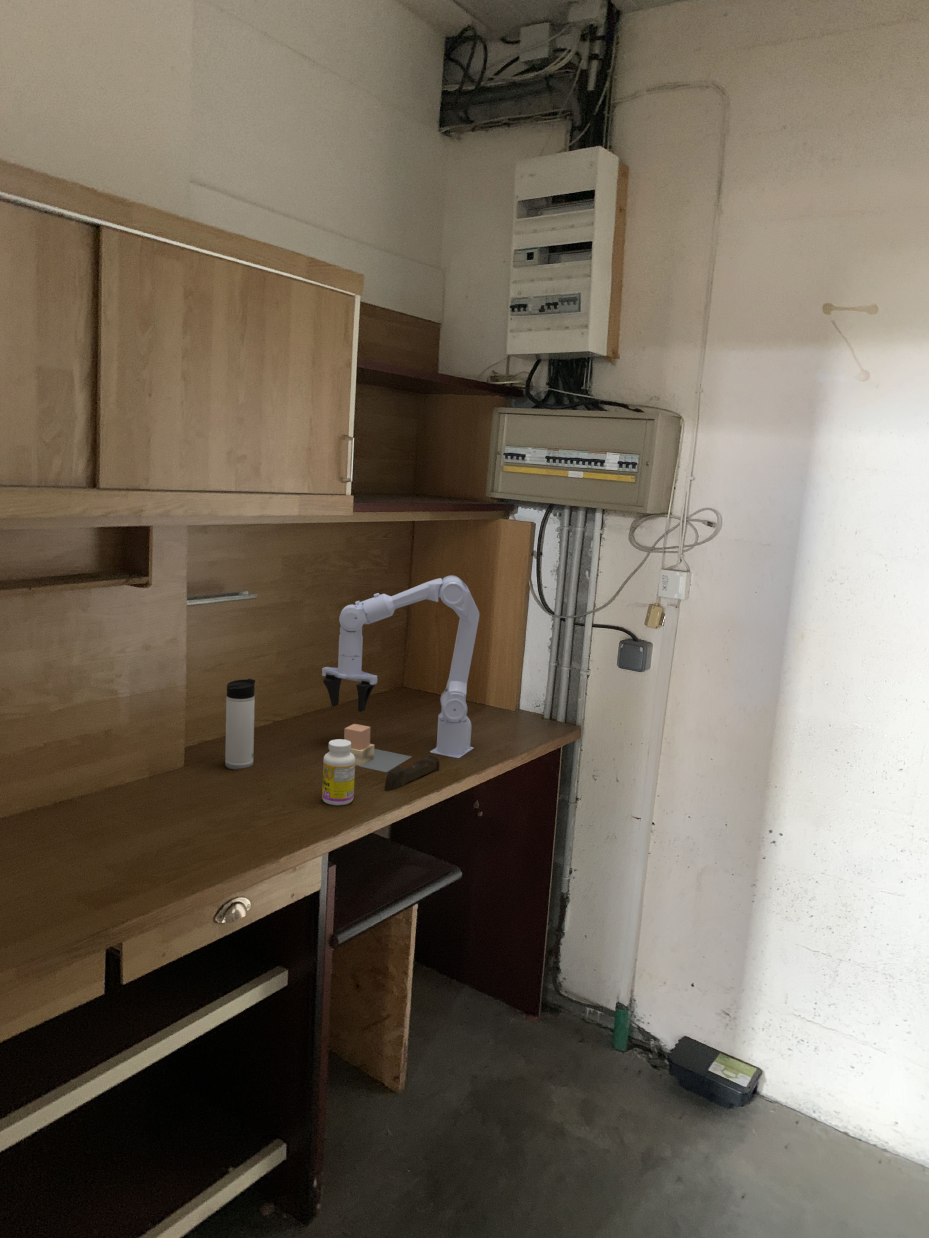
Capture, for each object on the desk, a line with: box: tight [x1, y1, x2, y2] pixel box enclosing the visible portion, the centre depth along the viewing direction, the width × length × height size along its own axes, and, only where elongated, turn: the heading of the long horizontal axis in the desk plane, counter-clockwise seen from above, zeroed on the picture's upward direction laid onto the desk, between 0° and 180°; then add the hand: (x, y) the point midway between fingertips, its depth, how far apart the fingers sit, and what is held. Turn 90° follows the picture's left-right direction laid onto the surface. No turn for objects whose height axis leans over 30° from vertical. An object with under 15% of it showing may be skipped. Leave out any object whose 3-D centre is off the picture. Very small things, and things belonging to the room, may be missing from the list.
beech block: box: [350, 743, 375, 767], centre depth 217 cm, size 6×6×4 cm
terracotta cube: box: [343, 723, 372, 750], centre depth 216 cm, size 4×4×4 cm
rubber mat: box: [355, 748, 412, 773], centre depth 219 cm, size 13×14×1 cm
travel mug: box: [224, 678, 256, 771], centre depth 209 cm, size 6×7×20 cm
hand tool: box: [384, 754, 441, 792], centre depth 207 cm, size 19×4×5 cm, turn 146°
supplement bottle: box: [321, 738, 356, 806], centre depth 192 cm, size 7×7×13 cm
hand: (348, 708), depth 225 cm, fingers open, 7 cm apart
